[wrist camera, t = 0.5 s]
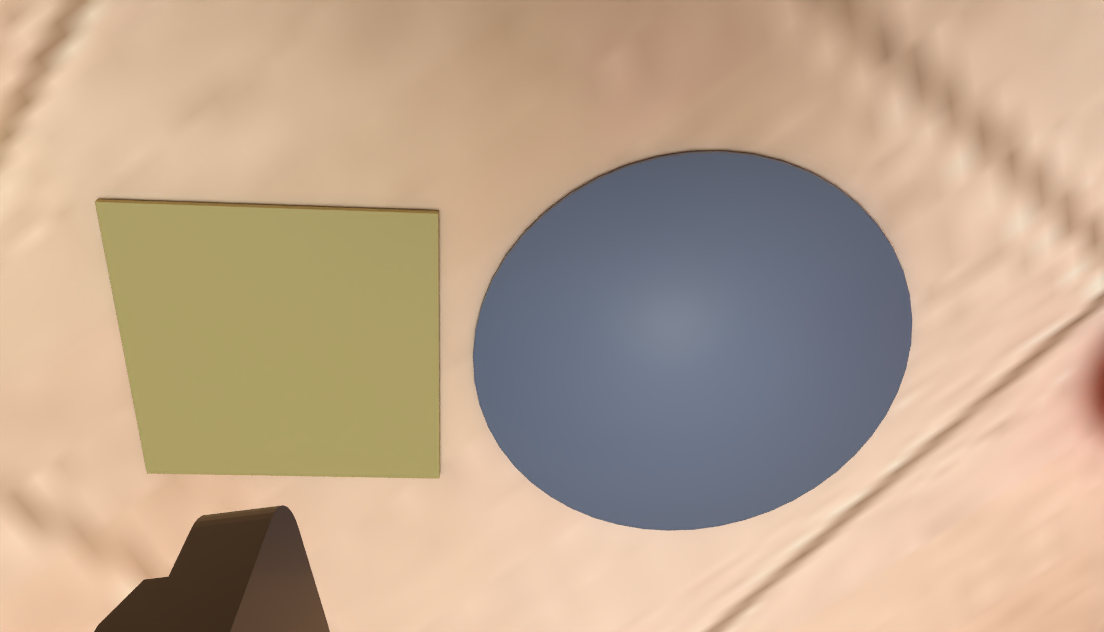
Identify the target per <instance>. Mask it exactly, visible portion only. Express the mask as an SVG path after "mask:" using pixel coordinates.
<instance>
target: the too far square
mask: <svg viewBox="0 0 1104 632" xmlns="http://www.w3.org/2000/svg"><path fill="white" fill-rule="evenodd" d="M95 205H96V210H97V215H98V220H99V226H100V231H101V236H102V241H103V246H104V252H105V257H106V262H107V267H108V273H109V278H110V283H111V288H112V293H113V299H114V304H115V309H116V314H117V319H118V325H119V330H120V335H121V340H122V346H123V351H124V356H125V361H126V366H127V372H128V377H129V382H130V387H131V393H132V398H133V403H134V408H135V413H136V419H137V424H138V429H139V434H140V440H141V445H142V450H143V455H144V460H145V466H146V471H147V473H157V474H214V475H271V476H329V477H386V478H439V477H440V404H439V211H430V210H401V209H372V208H343V207H314V206H284V205H255V204H226V203H197V202H168V201H139V200H110V199H97V200H96V201H95Z"/></svg>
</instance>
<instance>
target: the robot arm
mask: <svg viewBox="0 0 1104 632" xmlns="http://www.w3.org/2000/svg"><path fill="white" fill-rule="evenodd" d="M94 632H330V631H329V627H328V624H327V621H326V617H325V614H324V611H323V607H322V604H321V601H320V597H319V594H318V591H317V588H316V584H315V581H314V578H313V574H312V571H311V568H310V564H309V561H308V558H307V555H306V551H305V548H304V545H303V541H302V538H301V535H300V531H299V528H298V525H297V522H296V520H295V518H294V515H293V514H292V512H291V511H290V509H289V508H288V507H286V506H284V505H283V506H275V507H267V508H259V509H251V510H243V511H235V512H227V513H219V514H211V515H203V516H201V517H200V518H198V519H197V521H196V522H195V523H194V525H193V527H192V529H191V531H190V533H189V535H188V537H187V539H186V541H185V543H184V545H183V547H182V549H181V552H180V554H179V556H178V558H177V560H176V562H175V564H174V566H173V568H172V570H171V572H170V575H169V577H163V578H154V579H146V580H143V581H142V582H141V583H140V584H139V585H138V586H137V587H136V588H135V589H134V590H133V591H132V592H131V593H130V594H129V595H128V596H127V597H126V598H125V599H124V600H123V601H122V602H121V603H120V604H119V605H118V606H117V607H116V608H115V609H114V610H113V611H112V612H111V613H110V614H109V615H108V616H107V617H106V618H105V619H104V620H103V621H102V622H101V623H100V624H99V625H98V626H97V628H96V630H95V631H94Z"/></svg>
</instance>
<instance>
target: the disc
mask: <svg viewBox="0 0 1104 632" xmlns="http://www.w3.org/2000/svg"><path fill="white" fill-rule="evenodd" d="M911 333H912V313H911V303H910V294H909V291H908V287H907V283H906V280H905V276H904V272H903V269H902V267H901V265H900V263H899V261H898V258H897V256H896V254H895V252H894V250H893V247H892V246H891V244H890V243H889V241H888V240H887V238H886V237H885V235H884V234H883V232H882V231H881V229H880V228H879V227H878V225H877V224H876V223H875V222H874V221H873V220H872V218H871V217H870V216H869V215H868V214H867V213H866V212H865V211H864V210H863V209H862V208H861V207H860V206H859V205H858V203H856V202H855V201H854V200H853V199H851V198H850V197H849V196H847V195H846V194H845V193H844V192H842V191H841V190H840V189H839V188H837V187H836V186H835V185H833V184H831V183H829V182H827V181H826V180H824V179H822V178H820V177H819V176H817V175H815V174H813V173H812V172H810V171H807V170H804V169H802V168H799V167H797V166H794V165H792V164H789V163H787V162H784V161H781V160H776V159H772V158H768V157H764V156H760V155H755V154H749V153H739V152H730V151H690V152H683V153H677V154H670V155H663V156H658V157H654V158H650V159H647V160H643V161H640V162H636V163H632V164H629V165H626V166H624V167H621V168H619V169H616V170H614V171H611V172H609V173H607V174H604V175H602V176H599V177H597V178H596V179H594V180H592V181H590V182H588V183H587V184H585V185H583V186H581V187H580V188H578V189H576V190H574V191H573V192H571V193H569V194H568V195H567V196H565V197H564V198H563V199H561V200H560V201H559V202H557V203H556V204H555V205H553V206H552V207H551V208H549V209H548V210H547V211H545V212H544V213H543V214H542V215H541V216H540V217H539V218H538V219H537V220H536V221H535V222H534V223H533V224H532V225H531V226H530V227H529V228H528V229H527V230H526V231H525V232H524V233H523V234H522V236H521V237H520V238H519V239H518V241H517V242H516V243H515V244H514V246H513V247H512V248H511V249H510V251H509V252H508V253H507V255H506V256H505V258H504V260H503V261H502V263H501V265H500V266H499V268H498V270H497V271H496V273H495V275H494V277H493V278H492V280H491V283H490V285H489V288H488V290H487V293H486V295H485V297H484V300H483V302H482V305H481V309H480V313H479V318H478V322H477V326H476V331H475V342H474V352H473V363H474V379H475V386H476V390H477V395H478V399H479V404H480V407H481V410H482V412H483V415H484V417H485V420H486V423H487V425H488V428H489V429H490V431H491V433H492V435H493V436H494V438H495V440H496V442H497V443H498V445H499V447H500V448H501V450H502V451H503V452H504V453H505V455H506V456H507V457H508V459H509V460H510V461H511V462H512V464H513V465H514V466H515V467H516V468H517V469H518V470H519V471H520V472H521V473H522V474H523V475H524V476H525V477H526V478H527V479H528V480H529V481H530V482H531V483H533V484H534V485H536V486H537V487H538V488H540V489H541V490H542V491H544V492H545V493H546V494H548V495H549V496H550V497H552V498H554V499H556V500H557V501H559V502H561V503H563V504H565V505H566V506H568V507H570V508H572V509H574V510H577V511H579V512H582V513H584V514H586V515H589V516H591V517H594V518H597V519H600V520H604V521H607V522H611V523H614V524H618V525H624V526H629V527H635V528H641V529H654V530H694V529H701V528H708V527H716V526H721V525H726V524H730V523H734V522H738V521H742V520H746V519H749V518H752V517H755V516H758V515H761V514H763V513H766V512H769V511H771V510H774V509H776V508H778V507H780V506H782V505H784V504H787V503H789V502H791V501H793V500H795V499H797V498H798V497H800V496H802V495H803V494H805V493H807V492H808V491H810V490H812V489H814V488H815V487H817V486H818V485H819V484H821V483H822V482H823V481H825V480H826V479H827V478H829V477H830V476H832V475H833V474H834V473H836V472H837V471H838V470H839V469H840V468H841V467H842V466H843V465H844V464H846V463H847V462H848V461H849V460H850V459H851V458H852V457H853V456H854V455H855V454H856V453H857V452H858V451H859V450H860V449H861V447H862V446H863V445H864V444H865V443H866V442H867V441H868V439H869V438H870V437H871V436H872V435H873V433H874V432H875V430H876V429H877V427H878V426H879V424H880V423H881V421H882V420H883V418H884V417H885V416H886V414H887V412H888V410H889V408H890V406H891V404H892V402H893V400H894V398H895V396H896V394H897V392H898V390H899V387H900V384H901V381H902V379H903V376H904V373H905V370H906V366H907V361H908V356H909V351H910V346H911Z"/></svg>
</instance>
